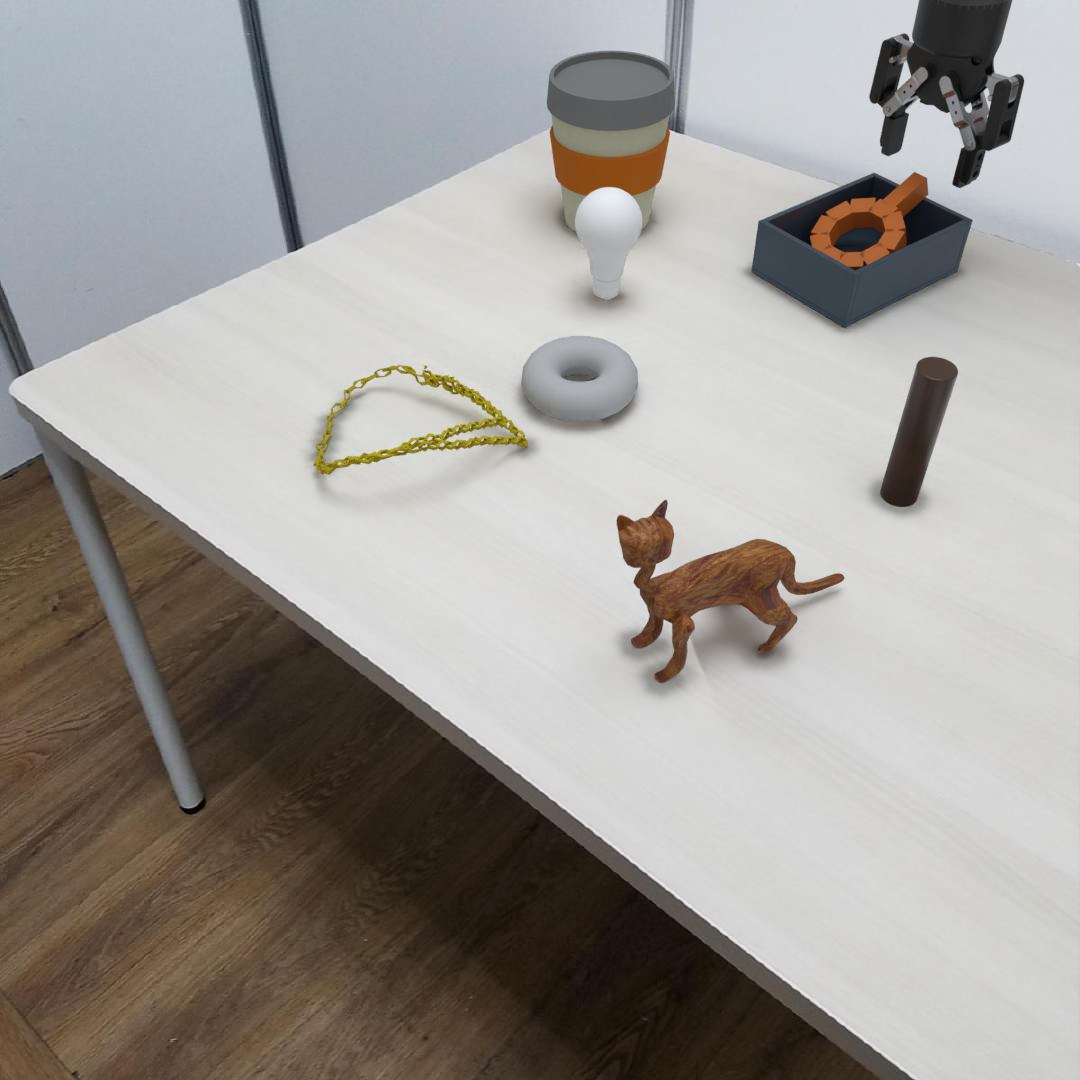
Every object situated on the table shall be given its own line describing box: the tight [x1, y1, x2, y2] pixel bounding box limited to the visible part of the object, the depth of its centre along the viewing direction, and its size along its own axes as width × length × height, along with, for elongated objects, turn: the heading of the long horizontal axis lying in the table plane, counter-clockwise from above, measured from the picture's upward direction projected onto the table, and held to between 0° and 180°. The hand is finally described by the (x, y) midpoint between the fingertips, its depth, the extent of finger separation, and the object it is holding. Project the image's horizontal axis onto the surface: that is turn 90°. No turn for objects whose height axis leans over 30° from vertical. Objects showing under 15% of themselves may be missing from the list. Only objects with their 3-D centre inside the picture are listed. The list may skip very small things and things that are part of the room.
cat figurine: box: [616, 499, 846, 684], centre depth 68 cm, size 18×7×14 cm, turn 114°
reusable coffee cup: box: [546, 50, 676, 233], centre depth 108 cm, size 13×12×15 cm
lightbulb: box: [575, 187, 642, 301], centre depth 99 cm, size 6×6×11 cm
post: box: [879, 356, 959, 508], centre depth 78 cm, size 3×3×12 cm
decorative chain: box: [312, 364, 529, 476], centre depth 86 cm, size 16×15×5 cm
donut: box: [520, 335, 639, 423], centre depth 91 cm, size 10×4×10 cm
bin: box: [751, 172, 973, 328], centre depth 103 cm, size 16×12×6 cm
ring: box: [810, 171, 929, 271], centre depth 103 cm, size 13×9×2 cm
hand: (925, 168), depth 102 cm, fingers open, 8 cm apart
